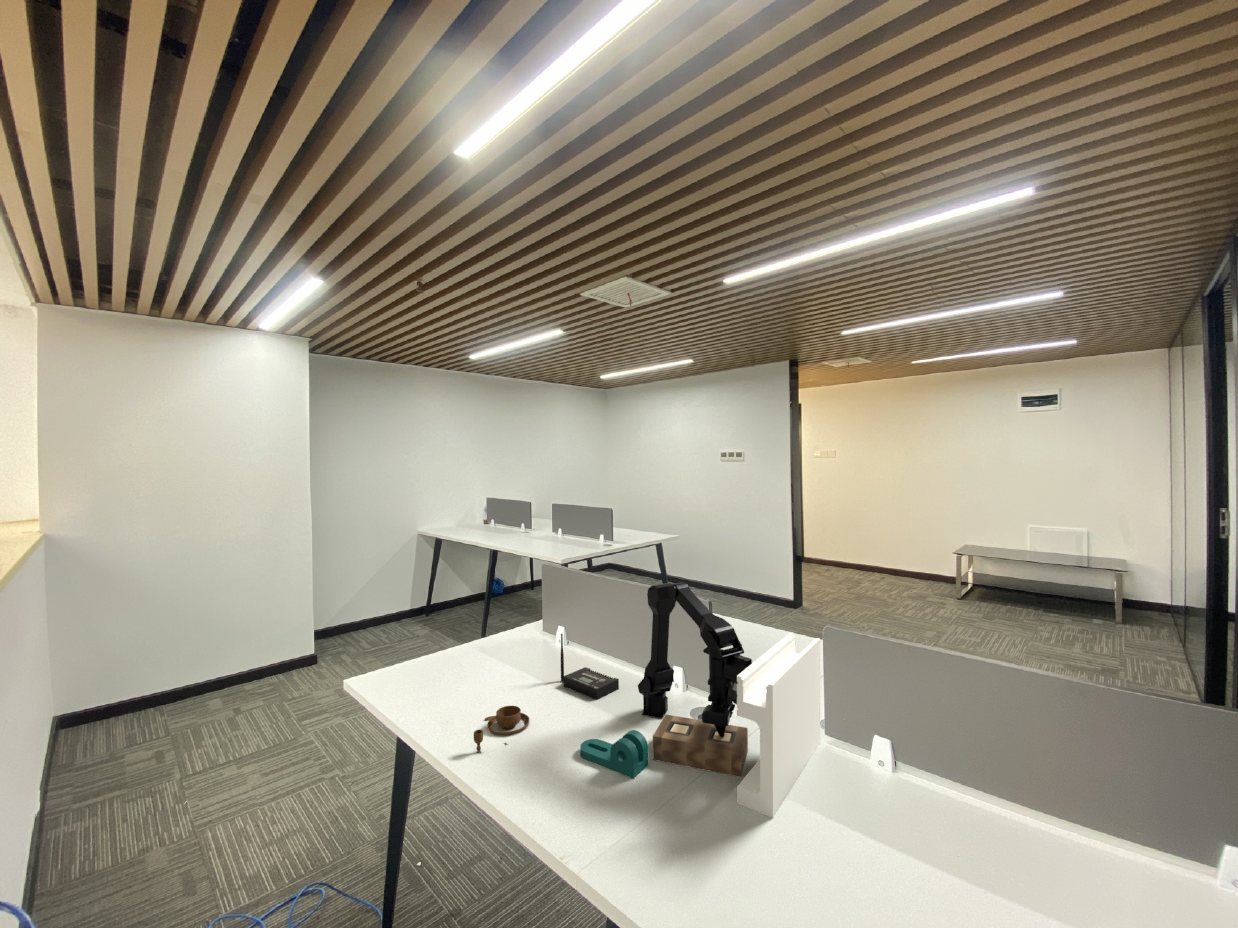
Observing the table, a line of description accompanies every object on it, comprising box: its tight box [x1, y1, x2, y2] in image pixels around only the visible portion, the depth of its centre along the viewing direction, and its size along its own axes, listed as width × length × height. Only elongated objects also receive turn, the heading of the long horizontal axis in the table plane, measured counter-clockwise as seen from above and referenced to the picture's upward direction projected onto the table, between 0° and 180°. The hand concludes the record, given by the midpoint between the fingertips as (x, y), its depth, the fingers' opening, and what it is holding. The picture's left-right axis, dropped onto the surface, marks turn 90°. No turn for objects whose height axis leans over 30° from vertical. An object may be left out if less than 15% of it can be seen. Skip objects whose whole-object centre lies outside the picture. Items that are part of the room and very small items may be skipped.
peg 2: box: [713, 731, 732, 742], centre depth 129 cm, size 4×4×6 cm
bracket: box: [579, 729, 649, 780], centre depth 130 cm, size 18×7×8 cm, turn 56°
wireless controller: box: [560, 633, 620, 701], centre depth 174 cm, size 20×14×17 cm
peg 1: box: [670, 724, 689, 734], centre depth 133 cm, size 4×4×6 cm
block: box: [736, 632, 821, 819], centre depth 124 cm, size 35×8×28 cm, turn 143°
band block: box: [652, 714, 749, 778], centre depth 131 cm, size 22×12×6 cm, turn 69°
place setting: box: [473, 705, 530, 755], centre depth 146 cm, size 18×20×6 cm
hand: (722, 736), depth 129 cm, fingers closed, pressing on peg 2
